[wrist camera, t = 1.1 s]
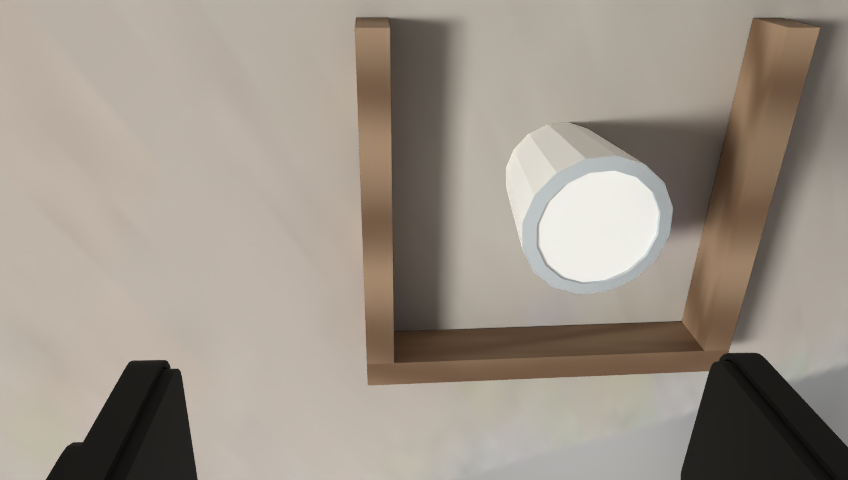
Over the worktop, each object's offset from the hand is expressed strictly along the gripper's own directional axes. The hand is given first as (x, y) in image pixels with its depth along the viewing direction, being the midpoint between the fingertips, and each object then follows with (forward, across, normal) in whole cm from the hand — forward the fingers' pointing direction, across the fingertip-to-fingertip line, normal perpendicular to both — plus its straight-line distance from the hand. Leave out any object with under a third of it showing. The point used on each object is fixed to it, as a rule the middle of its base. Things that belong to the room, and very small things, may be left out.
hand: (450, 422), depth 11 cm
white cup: (+24, -9, +4) cm, 25 cm away
